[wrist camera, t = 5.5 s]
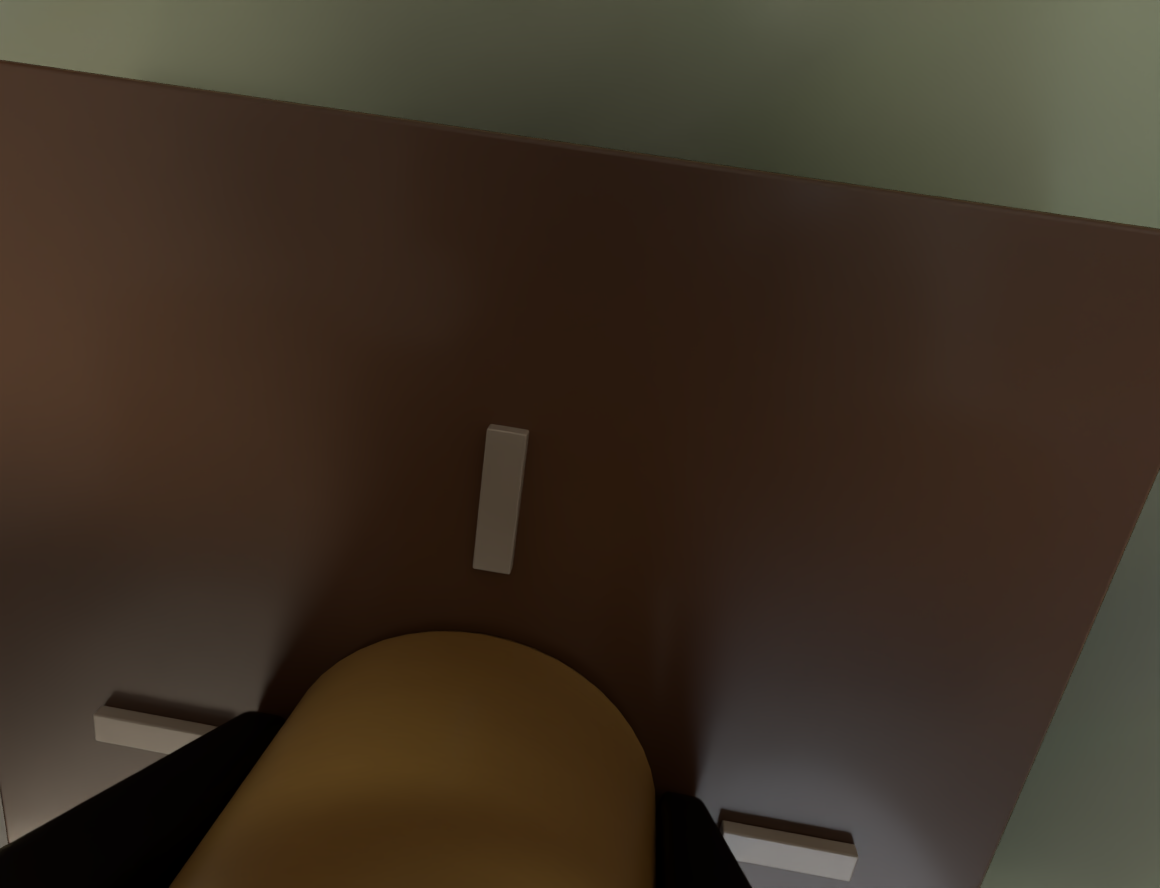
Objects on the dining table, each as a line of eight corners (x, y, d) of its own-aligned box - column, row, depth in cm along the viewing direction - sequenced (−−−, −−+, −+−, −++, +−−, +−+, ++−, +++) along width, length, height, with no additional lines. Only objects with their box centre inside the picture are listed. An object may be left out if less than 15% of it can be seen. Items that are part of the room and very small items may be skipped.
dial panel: (789, 1007, 13) (832, 1260, 10) (174, 888, 13) (32, 1092, 10) (1054, 228, 8) (1278, 243, 5) (130, 93, 9) (-138, 37, 6)
